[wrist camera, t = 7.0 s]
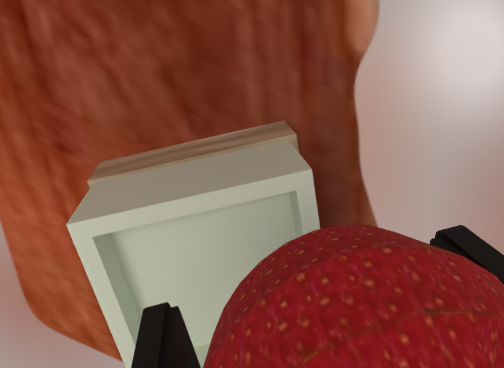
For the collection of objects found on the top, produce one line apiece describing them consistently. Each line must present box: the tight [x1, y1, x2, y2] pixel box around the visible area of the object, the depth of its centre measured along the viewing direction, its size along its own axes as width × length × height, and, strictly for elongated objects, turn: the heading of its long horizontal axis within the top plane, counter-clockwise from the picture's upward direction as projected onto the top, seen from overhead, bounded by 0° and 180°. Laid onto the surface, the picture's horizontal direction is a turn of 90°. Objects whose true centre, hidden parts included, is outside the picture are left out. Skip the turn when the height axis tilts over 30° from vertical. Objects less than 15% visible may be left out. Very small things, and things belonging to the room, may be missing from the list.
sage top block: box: [66, 140, 320, 368], centre depth 26 cm, size 13×13×6 cm
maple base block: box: [87, 121, 299, 188], centre depth 31 cm, size 14×14×4 cm
